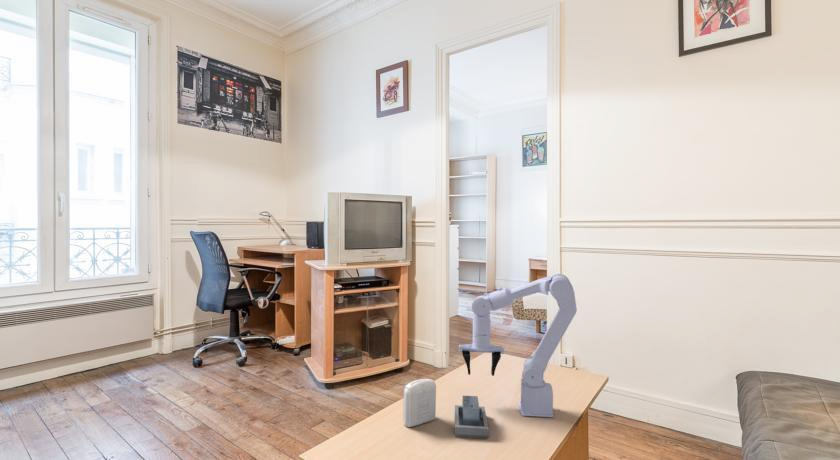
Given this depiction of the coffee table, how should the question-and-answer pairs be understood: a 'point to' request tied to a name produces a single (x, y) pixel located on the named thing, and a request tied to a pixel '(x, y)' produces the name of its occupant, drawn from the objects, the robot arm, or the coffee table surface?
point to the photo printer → (419, 402)
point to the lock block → (470, 411)
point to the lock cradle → (471, 431)
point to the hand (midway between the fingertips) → (480, 374)
